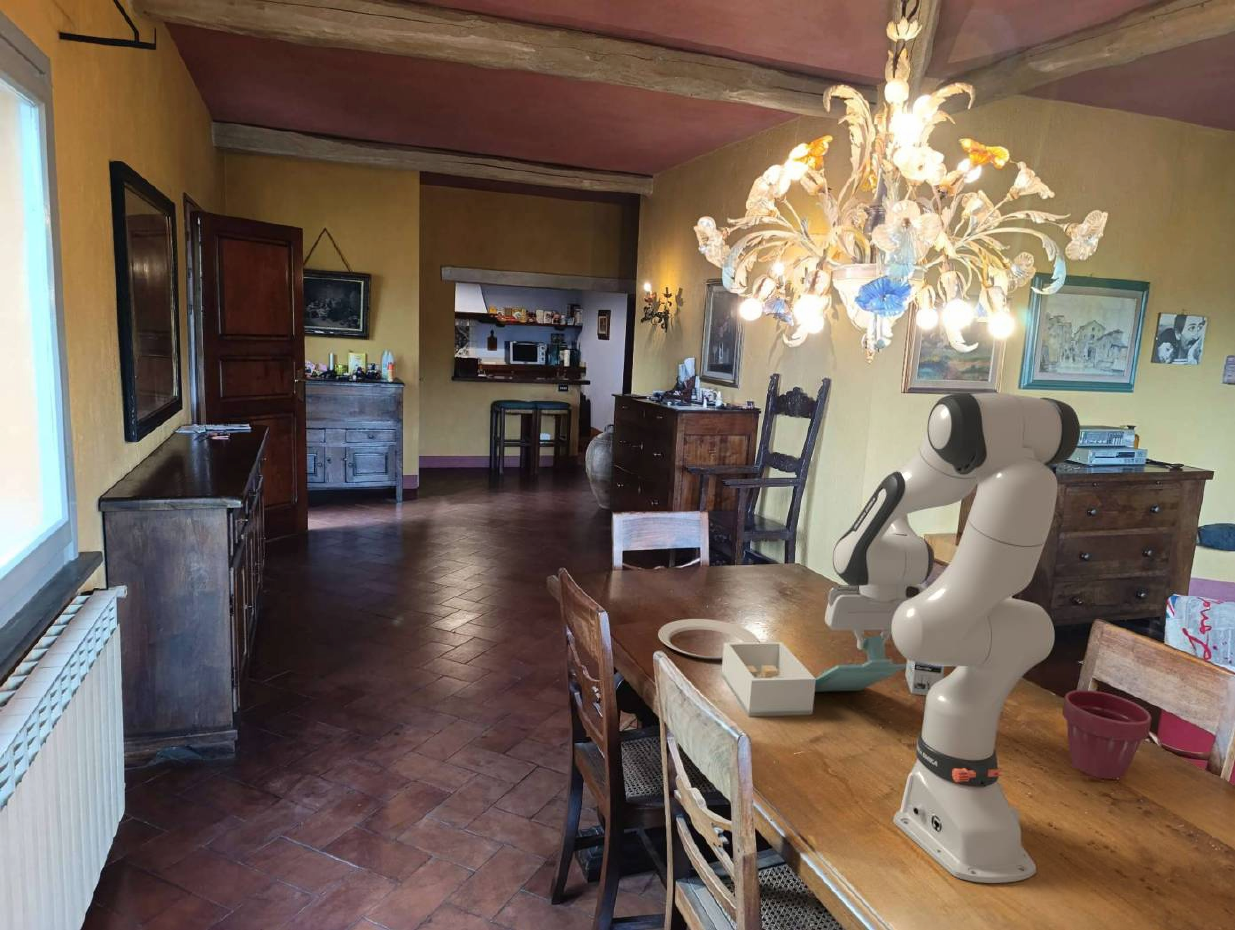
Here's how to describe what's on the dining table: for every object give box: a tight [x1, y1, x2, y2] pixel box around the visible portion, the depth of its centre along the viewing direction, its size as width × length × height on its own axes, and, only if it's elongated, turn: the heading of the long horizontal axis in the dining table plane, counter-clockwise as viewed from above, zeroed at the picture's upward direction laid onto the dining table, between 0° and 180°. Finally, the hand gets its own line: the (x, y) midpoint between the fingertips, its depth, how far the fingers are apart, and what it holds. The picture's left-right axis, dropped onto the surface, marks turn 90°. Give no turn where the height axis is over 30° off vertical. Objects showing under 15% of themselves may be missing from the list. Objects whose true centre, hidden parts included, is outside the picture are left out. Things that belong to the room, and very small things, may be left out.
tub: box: [720, 641, 816, 717], centre depth 180 cm, size 20×14×8 cm
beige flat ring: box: [657, 618, 759, 660], centre depth 207 cm, size 26×26×2 cm
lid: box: [813, 634, 907, 693], centre depth 175 cm, size 25×15×7 cm
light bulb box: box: [904, 659, 946, 697], centre depth 188 cm, size 11×7×11 cm, turn 168°
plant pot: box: [1062, 689, 1152, 780], centre depth 155 cm, size 14×14×13 cm
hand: (870, 648), depth 168 cm, fingers open, 2 cm apart
